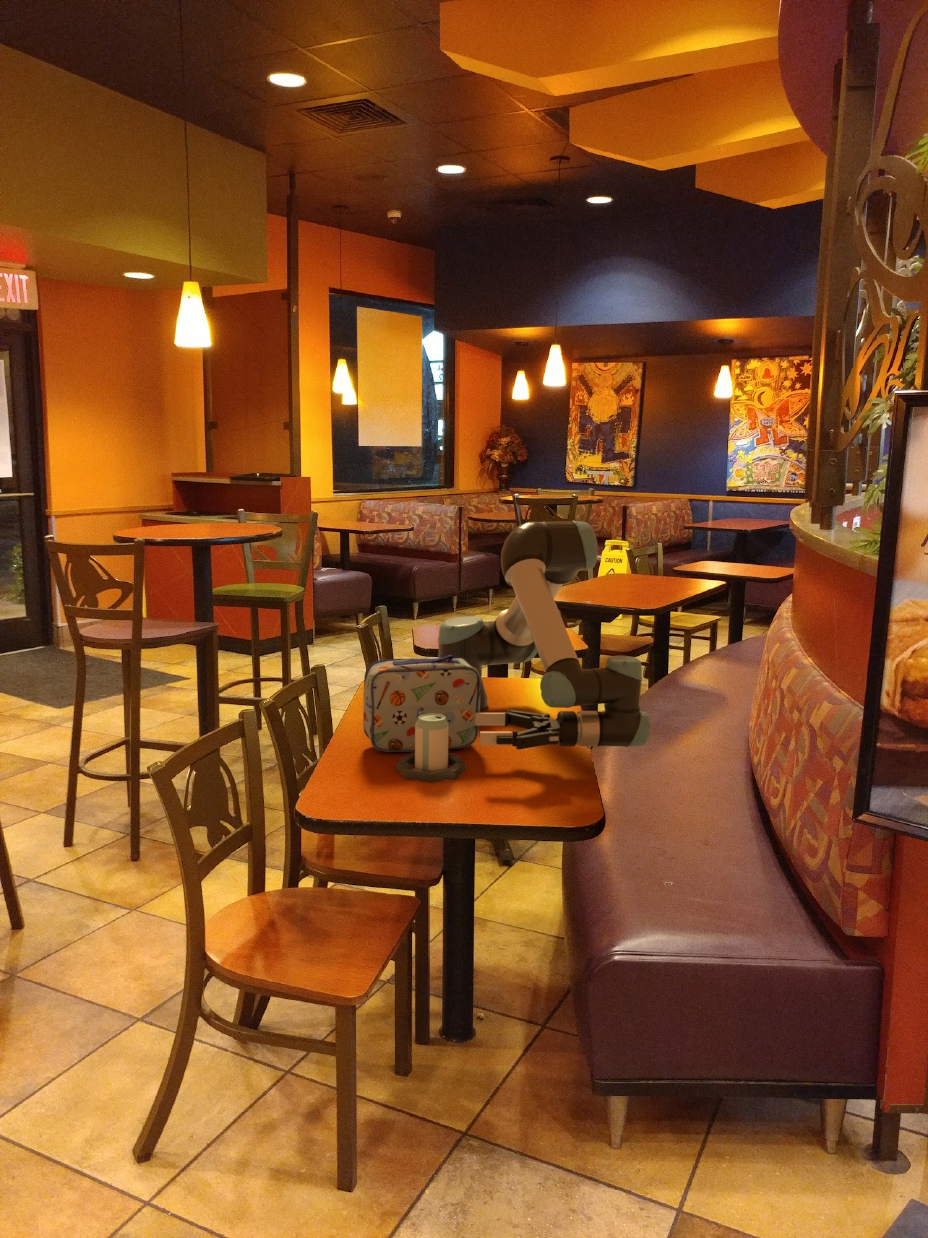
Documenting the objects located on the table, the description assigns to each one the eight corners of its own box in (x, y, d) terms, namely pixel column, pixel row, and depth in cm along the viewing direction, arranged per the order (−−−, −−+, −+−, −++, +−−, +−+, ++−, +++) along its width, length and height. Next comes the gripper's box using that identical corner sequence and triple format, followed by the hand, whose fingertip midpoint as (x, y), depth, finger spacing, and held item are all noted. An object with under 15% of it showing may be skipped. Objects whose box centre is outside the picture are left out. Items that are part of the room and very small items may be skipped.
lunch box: (474, 737, 230) (476, 647, 226) (487, 750, 221) (489, 656, 216) (360, 744, 223) (360, 651, 219) (368, 758, 213) (368, 662, 209)
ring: (415, 757, 215) (415, 748, 214) (472, 765, 210) (472, 756, 210) (388, 776, 202) (388, 767, 202) (448, 785, 197) (448, 776, 197)
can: (422, 763, 211) (423, 710, 208) (452, 768, 208) (453, 714, 206) (409, 773, 204) (409, 719, 202) (439, 778, 202) (440, 723, 199)
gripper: (586, 765, 195) (481, 765, 193) (566, 728, 219) (473, 727, 218) (587, 729, 193) (482, 729, 192) (567, 696, 218) (474, 695, 216)
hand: (477, 728), depth 205 cm, fingers open, 13 cm apart
